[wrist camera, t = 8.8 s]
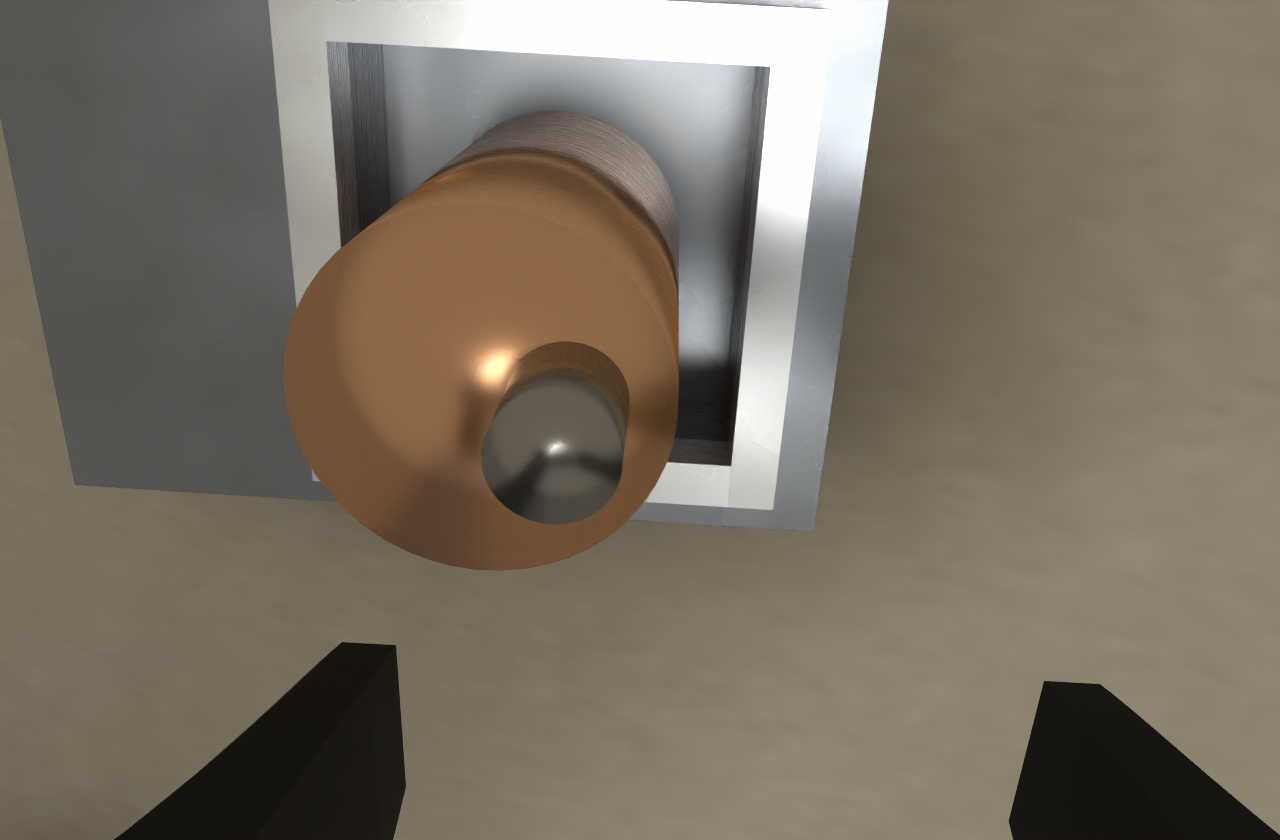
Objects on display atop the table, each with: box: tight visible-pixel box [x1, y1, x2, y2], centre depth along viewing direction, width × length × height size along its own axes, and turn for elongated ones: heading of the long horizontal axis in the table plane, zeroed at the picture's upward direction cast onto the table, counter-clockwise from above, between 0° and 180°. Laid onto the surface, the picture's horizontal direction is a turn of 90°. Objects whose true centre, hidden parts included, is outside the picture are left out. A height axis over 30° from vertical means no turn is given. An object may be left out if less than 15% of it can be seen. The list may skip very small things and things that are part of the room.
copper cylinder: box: [284, 111, 679, 570], centre depth 14 cm, size 4×4×10 cm
